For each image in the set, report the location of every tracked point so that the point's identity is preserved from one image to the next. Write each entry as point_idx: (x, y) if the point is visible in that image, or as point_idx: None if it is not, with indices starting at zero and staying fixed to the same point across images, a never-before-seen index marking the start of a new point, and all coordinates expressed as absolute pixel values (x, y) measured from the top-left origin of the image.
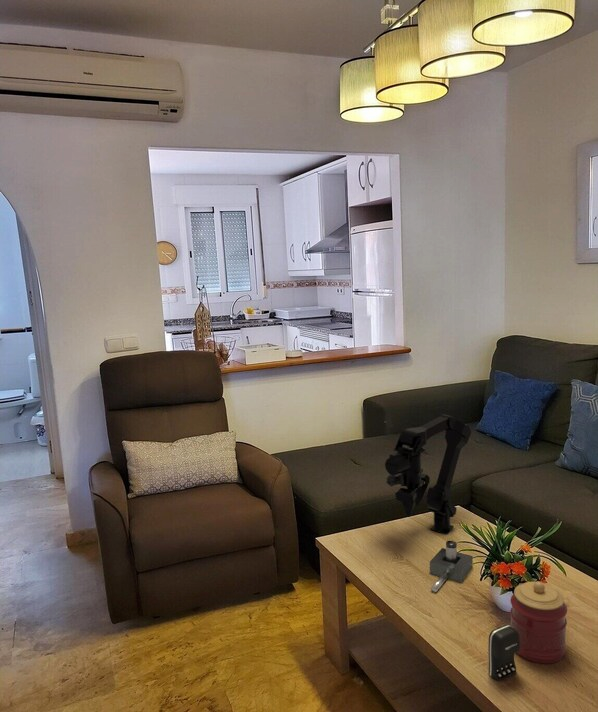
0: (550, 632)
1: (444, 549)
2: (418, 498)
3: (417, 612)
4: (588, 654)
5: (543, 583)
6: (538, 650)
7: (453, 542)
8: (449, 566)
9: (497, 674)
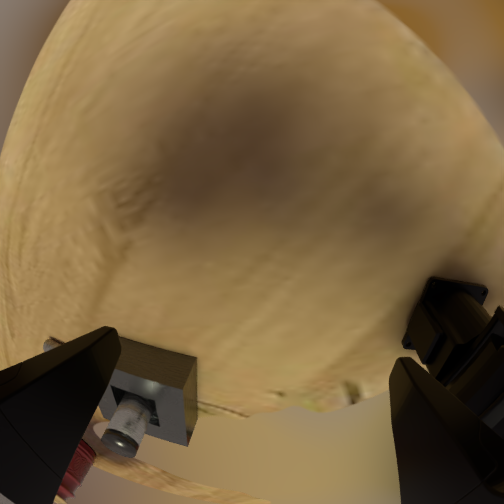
0: None
1: (177, 395)
2: (409, 443)
3: (2, 315)
4: (99, 468)
5: (55, 501)
6: None
7: (126, 452)
8: None
9: None
